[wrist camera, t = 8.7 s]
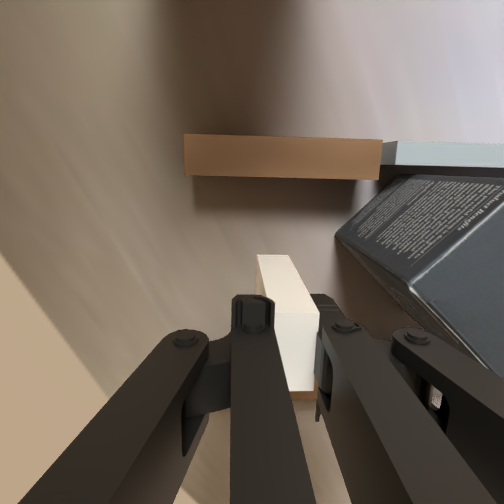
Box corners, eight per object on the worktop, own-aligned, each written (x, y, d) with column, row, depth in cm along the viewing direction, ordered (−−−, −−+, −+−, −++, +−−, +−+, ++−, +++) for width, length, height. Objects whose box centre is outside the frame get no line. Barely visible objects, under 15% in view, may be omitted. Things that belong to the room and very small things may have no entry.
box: (473, 257, 24) (652, 328, 14) (406, 314, 25) (528, 422, 14) (399, 169, 22) (538, 174, 12) (330, 233, 23) (406, 288, 13)
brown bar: (192, 138, 21) (183, 133, 18) (359, 143, 22) (382, 139, 18) (194, 367, 25) (188, 400, 21) (339, 367, 25) (355, 399, 22)
